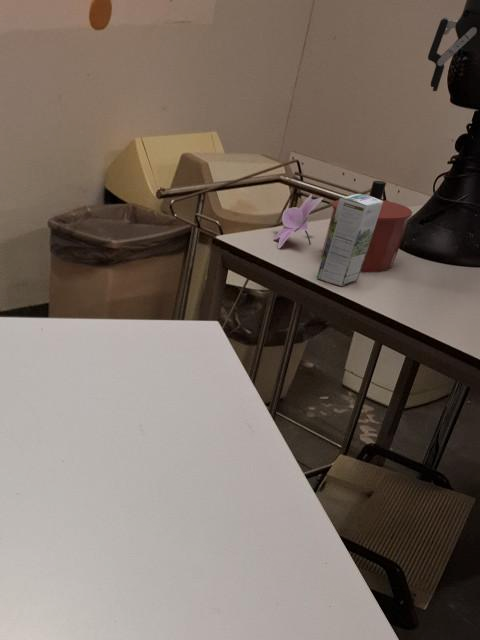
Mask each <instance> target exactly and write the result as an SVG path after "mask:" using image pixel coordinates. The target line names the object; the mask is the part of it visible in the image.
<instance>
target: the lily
mask: <svg viewBox="0 0 480 640" xmlns="http://www.w3.org/2000/svg"><path fill="white" fill-rule="evenodd" d="M312 198H313V194H312V193H311V194H310V195H309V196H308V197H307V198H306V199H305V200H304V202H303V203H302V204H301V205H300V207H296V206H295V207H289V208H286V209H285V210H284V211H283V213H282V218H281V219H282V225H283V227H282V228H280V230H279V231H278V232H277V233H276V234H275V235H274V237H273V238H272V240H273V239H274V240H277V239H278V243H277V249H278V248H279V249H278V250H280V249H281V248H282V246H284V244H285V243H286V241H287V240H288V239H289V238H290V237H291V235H292V234H293V233H299V232H300V233H301V232H305V234H306V237H307V240H308V244H309V245H310V246H311V245H312V242H311V238H310V236H309V233H308V229H309V221H308V216H309V214H311V212H312V211H313V210H314V209H315V208H316V207H317V205H318V204H319V203H320V202H322V201H323V199H324V196H323V197H322V196H321V197H318V198H315V199H313V200H312ZM311 200H312V201H311ZM274 240H273V241H274Z"/></svg>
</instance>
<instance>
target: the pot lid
mask: <svg viewBox="0 0 480 640" xmlns="http://www.w3.org/2000/svg"><path fill="white" fill-rule="evenodd" d="M386 185H387V182H386V181H383V180H373V181H372V185H371V188H370V192H369V194H368V196H371V197H374V198H377V199H379V200H381V201H382V202H383V204H382V207H381V210H380V213H379V216H378V219H377V220H378V221H397V220H404V219H408V220H409V218H411V217H412V215H413V211H412V209H411V208H409V207H408V206H405V205H403V204H399V203H397V202H393V201H389V200H383V196H384V192H385V189H386ZM338 202H339V199H336V200H335V201H333V202H332V210H333V209H334V210H336V209H337V206H338Z"/></svg>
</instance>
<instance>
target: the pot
mask: <svg viewBox="0 0 480 640" xmlns="http://www.w3.org/2000/svg"><path fill="white" fill-rule="evenodd" d="M335 213H336V210H334V209H333V208H332V213H331V217H330V221H329V224H328V227H327V232H326V235H325V239H324V243H323V246H322V251H321V259H322V257H323V254H324V251H325V247H326V244H327V240H328V237H329V233H330V230H331V226H332V223H333V220H334V216H335ZM408 221H409V218H408V219H404V220H397V221H378V220H377V222H376V226H375V229H374V232H373V235H372V238H371V241H370V244H369V247H368V250H367V253H366V256H365V259H364V263H363V266H362V269H361V272H362V273H363V272H364V273H367V272H368V273H378V272H379V273H380V272H385V271H388V270H390V269H392V268H393V265H394V264H395V261H396V258H397V256H398V251H399V249H400V246H401V243H402V241H403V236H404V234H405V231H406V228H407V224H408Z"/></svg>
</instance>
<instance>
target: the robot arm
mask: <svg viewBox="0 0 480 640" xmlns="http://www.w3.org/2000/svg"><path fill="white" fill-rule="evenodd" d="M452 29H454V30H455V33H456V37H457V40H455V41H454V42H453V43H452V44H451V45H450V46H449V47H448V48H447V49H446V50H444V52H443V53H442V54H440V53H438V51H439V49H440V44H441V42H442V40H443V37H444V36H446V35H448V34H449V33H450V32H451V30H452ZM460 49H461V50H462V51H464V52H466V53H467V52H476V53H480V0H465V3H464V7H463V9H462V12H461V15H460V17H459V18H458V20H455V19H449V18H447V17H443V18H441V19H440V21H439V24H438V26H437V29H436V32H435V35H434V37H433V40H432V43H431V46H430V49H429V52H428V54H427V59H428V61H431V62H433V63H434V65H435V68H434V70H433V74H432V78H431V81H430V87H431V88H432V92H437V91H438V88H439V85H440V82H441V79H442V76H443V73H444V69H445V64H446V62H448V60H450V59H451V58H452V57H453V56H454V55H455V54H456V53H458V51H459V50H460Z"/></svg>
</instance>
